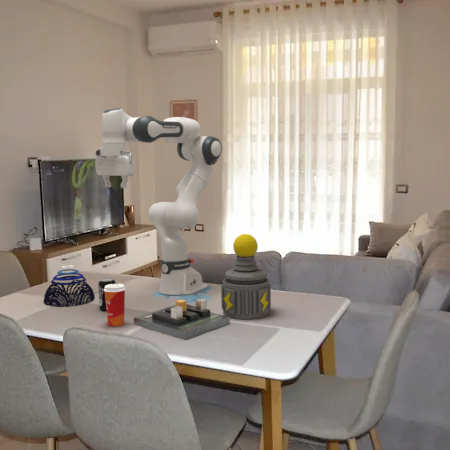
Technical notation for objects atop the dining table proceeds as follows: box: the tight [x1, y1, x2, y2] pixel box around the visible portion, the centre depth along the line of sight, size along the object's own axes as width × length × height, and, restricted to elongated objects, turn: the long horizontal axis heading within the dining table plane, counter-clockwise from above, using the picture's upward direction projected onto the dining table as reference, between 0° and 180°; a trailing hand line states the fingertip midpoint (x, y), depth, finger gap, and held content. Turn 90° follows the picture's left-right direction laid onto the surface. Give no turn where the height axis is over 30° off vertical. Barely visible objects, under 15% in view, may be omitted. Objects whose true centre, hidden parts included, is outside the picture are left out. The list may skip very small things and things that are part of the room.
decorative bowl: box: [43, 264, 96, 308], centre depth 232 cm, size 20×20×14 cm
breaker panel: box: [133, 298, 231, 340], centre depth 198 cm, size 22×26×8 cm
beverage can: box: [98, 277, 117, 312], centre depth 218 cm, size 7×7×12 cm
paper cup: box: [104, 283, 126, 328], centre depth 199 cm, size 8×8×14 cm
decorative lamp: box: [220, 233, 272, 320], centre depth 209 cm, size 19×19×30 cm
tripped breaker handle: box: [175, 299, 188, 312], centre depth 198 cm, size 3×2×4 cm
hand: (115, 187), depth 216 cm, fingers open, 8 cm apart
